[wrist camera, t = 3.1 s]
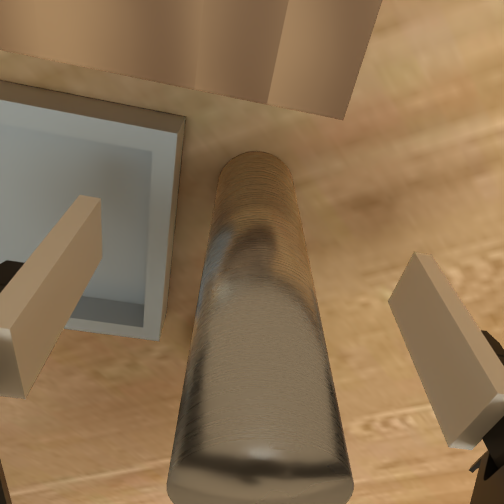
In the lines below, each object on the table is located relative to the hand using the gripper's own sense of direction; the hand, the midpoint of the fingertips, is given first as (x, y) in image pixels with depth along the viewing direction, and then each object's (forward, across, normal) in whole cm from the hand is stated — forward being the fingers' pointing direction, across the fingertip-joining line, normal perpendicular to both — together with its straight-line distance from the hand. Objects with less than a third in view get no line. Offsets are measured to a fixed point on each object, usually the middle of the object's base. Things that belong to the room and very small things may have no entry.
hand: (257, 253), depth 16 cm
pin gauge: (+6, 0, 0) cm, 6 cm away
